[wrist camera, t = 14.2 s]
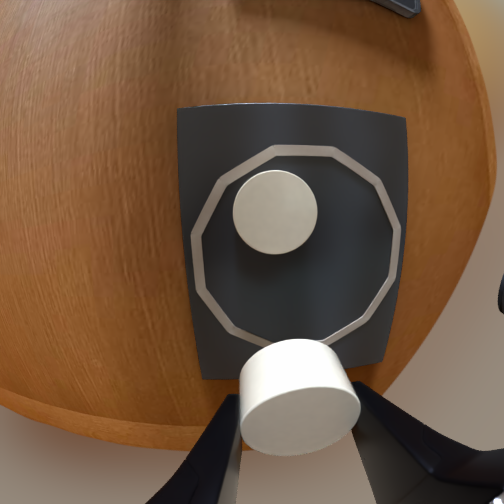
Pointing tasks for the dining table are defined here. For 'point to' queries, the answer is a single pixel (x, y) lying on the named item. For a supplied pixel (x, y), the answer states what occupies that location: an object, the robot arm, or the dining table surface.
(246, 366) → the cream round box
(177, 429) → the dining table surface
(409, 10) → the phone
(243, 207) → the white round puck
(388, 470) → the robot arm
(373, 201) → the slate
